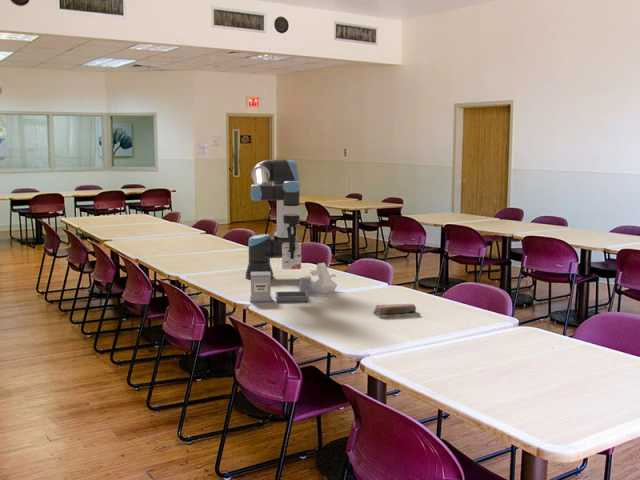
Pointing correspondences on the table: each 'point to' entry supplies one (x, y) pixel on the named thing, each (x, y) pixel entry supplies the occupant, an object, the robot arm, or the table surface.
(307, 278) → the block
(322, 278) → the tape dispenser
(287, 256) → the ink box
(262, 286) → the unit
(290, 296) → the tray
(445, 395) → the table surface
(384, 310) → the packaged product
